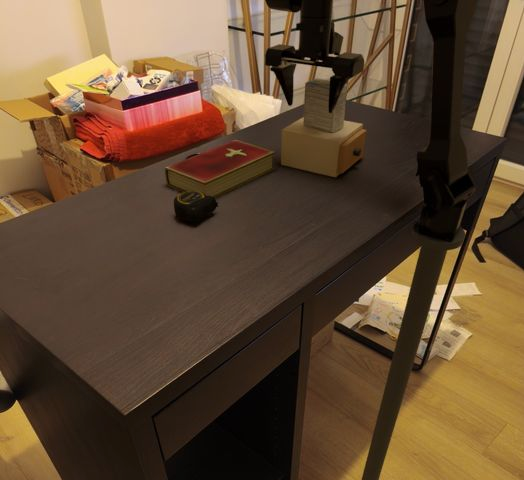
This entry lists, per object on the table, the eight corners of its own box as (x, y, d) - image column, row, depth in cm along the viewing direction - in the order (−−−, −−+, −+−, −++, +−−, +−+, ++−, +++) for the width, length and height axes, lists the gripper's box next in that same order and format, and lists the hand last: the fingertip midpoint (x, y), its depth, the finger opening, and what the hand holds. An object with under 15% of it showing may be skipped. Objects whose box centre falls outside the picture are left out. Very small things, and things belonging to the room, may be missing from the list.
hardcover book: (166, 185, 100) (163, 165, 97) (235, 156, 112) (234, 137, 109) (206, 202, 95) (204, 181, 92) (274, 169, 106) (274, 150, 103)
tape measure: (195, 228, 87) (193, 209, 84) (167, 218, 90) (165, 199, 87) (218, 214, 91) (217, 195, 88) (191, 204, 94) (190, 186, 91)
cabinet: (358, 158, 111) (363, 123, 106) (335, 177, 103) (339, 141, 98) (306, 147, 116) (308, 113, 111) (280, 164, 108) (281, 129, 103)
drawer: (367, 157, 109) (371, 130, 105) (347, 174, 102) (350, 147, 98) (314, 145, 114) (316, 120, 110) (291, 161, 107) (292, 135, 103)
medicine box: (343, 128, 104) (348, 83, 98) (332, 133, 101) (336, 88, 95) (314, 120, 107) (317, 77, 101) (302, 125, 105) (304, 81, 99)
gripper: (381, 13, 87) (368, 105, 98) (292, 5, 94) (289, 92, 105) (357, 22, 80) (346, 121, 91) (262, 13, 87) (263, 105, 98)
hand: (310, 109), depth 96 cm, fingers open, 9 cm apart
